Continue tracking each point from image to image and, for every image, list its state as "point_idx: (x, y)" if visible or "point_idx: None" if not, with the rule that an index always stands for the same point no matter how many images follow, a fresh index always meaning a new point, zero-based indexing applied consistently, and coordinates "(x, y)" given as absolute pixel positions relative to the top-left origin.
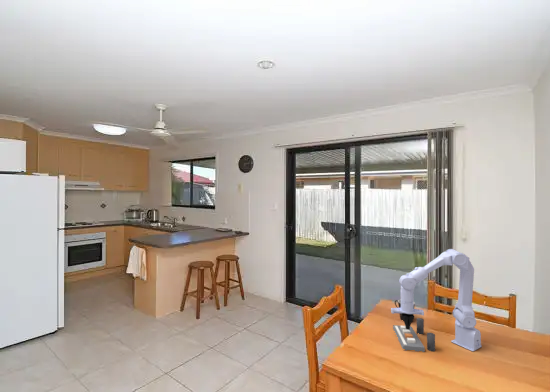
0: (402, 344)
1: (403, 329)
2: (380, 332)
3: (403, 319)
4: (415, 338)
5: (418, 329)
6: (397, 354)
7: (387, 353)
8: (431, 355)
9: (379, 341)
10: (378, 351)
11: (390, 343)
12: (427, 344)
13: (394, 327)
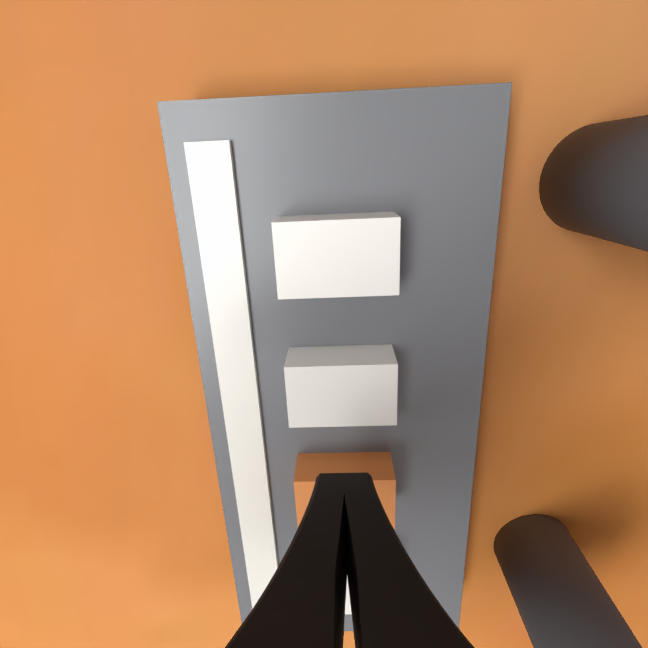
0: (240, 605)
1: (301, 369)
2: (3, 274)
3: (262, 604)
4: (426, 484)
5: (590, 227)
6: (193, 641)
7: (111, 640)
8: (485, 620)
9: (22, 484)
10: (35, 627)
11: (137, 501)
12: (514, 599)
13: (179, 202)
